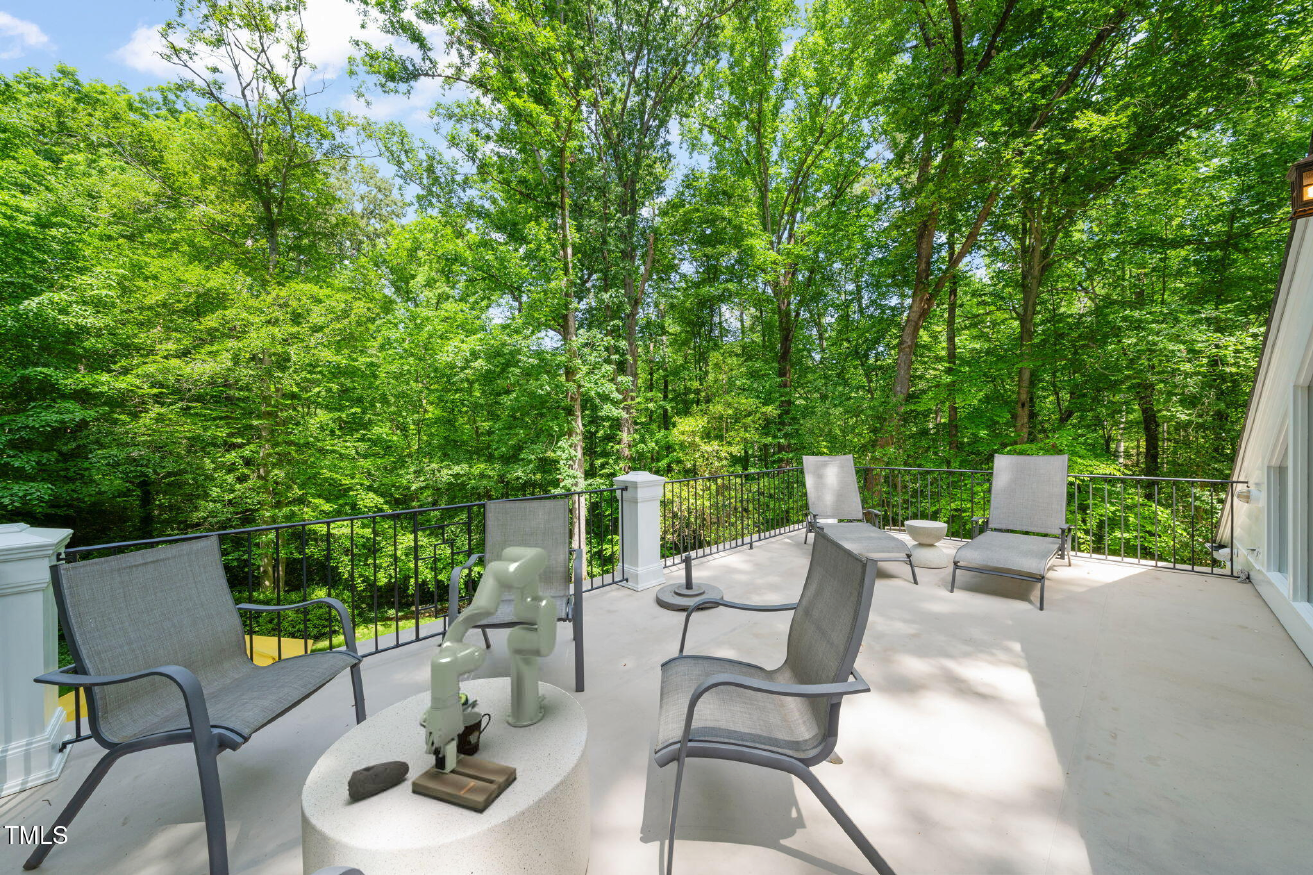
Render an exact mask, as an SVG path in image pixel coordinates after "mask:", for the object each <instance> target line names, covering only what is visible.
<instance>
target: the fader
mask: <svg viewBox="0 0 1313 875" xmlns="http://www.w3.org/2000/svg"><path fill="white" fill-rule="evenodd" d="M439 748H440V747H438V750H439ZM456 753H457V750H456V741H454V740H449V741H448V742H446V743H445V744H444V754H443V755H445V770H444V771H442V770H438V769H436V768H435V770H438V771H441V772H445V773H450V771H451V770H452V769H453V768H455V767H456Z"/></svg>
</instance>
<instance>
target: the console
mask: <svg viewBox="0 0 1313 875" xmlns="http://www.w3.org/2000/svg"><path fill="white" fill-rule="evenodd" d="M516 780H517V767H515V766H514V767H513V766H509V765H507V764H501V763H498V762H493V761H490V760H486V759H482V758H478V757H474V756H466V755H462V754H458V753H457V752H456V767H455V768H453V769H452V770H451V771H450V773H445V772H441V771H438V770H435V763H434V764H433V765H431V766H430V767H429V768H428V769H426V770H425V771H424V772H423V773H421V774H420V775H418V776H417V777H416V778H415V779H413V780H412V781H411V793H412V794H415V795H418V796H422V797H425V798H428V799H430V800H431V799H432V800H434V801H438V802H442V803H445V804H448V805H452V806H456V807H458V808H461V809H464V810H467V811H472V812H474V813H478V814H483V813H484V812H485V811H487V809H488V808H489V807H490V806H492V804H493V803H494V802H495V801H496V800H497V799H498V798H499V797H500V796H501V795H502V794H503V793H504V792H505V791H506V790H507V789H508V788H509V787H510V786H511V785H512V784H513V783H514V782H515V781H516Z"/></svg>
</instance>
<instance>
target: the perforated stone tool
mask: <svg viewBox="0 0 1313 875" xmlns="http://www.w3.org/2000/svg"><path fill="white" fill-rule="evenodd" d="M409 773H410V766H409V763H407V762H406V761H401V760H393V761H392V760H391V761H385V762H380V763H375V764H372V765H368V766H365V767H363V768H360V769H357V770H354V771H352V773H351V775H350V778H349V780H348V781H347V787H348V789H347V791H348V797H349V798H350V800H353V801H354V800H358V799H362V798H366V797H370V796H372V795H375V794H377V793H379V792H382V791H384V790H386V789H388V788H391V787H393V786H395V785H397V784H398V783H400V782H401V781H403V779H405V778H406V777H407V775H408V774H409Z"/></svg>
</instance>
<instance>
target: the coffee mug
mask: <svg viewBox="0 0 1313 875" xmlns="http://www.w3.org/2000/svg"><path fill="white" fill-rule="evenodd" d="M486 716H488V720H487V722H486V725H485V726H484V727H483V728H482V725H483V724H482V723H483V718H484V717H486ZM491 716H492V715H491V714H490V713H489V712H486V713H484V714H482V712H480V711H475V710H470V712H466V713H463V725H464V730H463V731H462V733H461V734H460V737H459V739H458V745H457V746H456V753H458V754H462V755H466V756H470V757H474V755H475V754H477V753H478V752H479V751H480V743H481V742H480V741H481V735H482V734H483V733H484V732H485V730H486V729H487V727H488V726H489V724H490V722H491V719H492V717H491Z"/></svg>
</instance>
